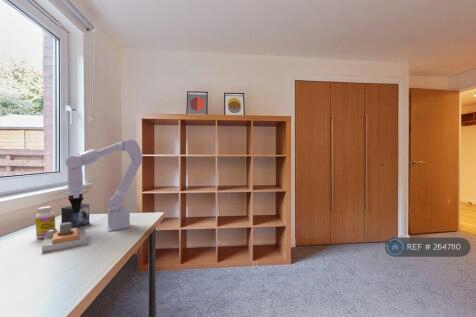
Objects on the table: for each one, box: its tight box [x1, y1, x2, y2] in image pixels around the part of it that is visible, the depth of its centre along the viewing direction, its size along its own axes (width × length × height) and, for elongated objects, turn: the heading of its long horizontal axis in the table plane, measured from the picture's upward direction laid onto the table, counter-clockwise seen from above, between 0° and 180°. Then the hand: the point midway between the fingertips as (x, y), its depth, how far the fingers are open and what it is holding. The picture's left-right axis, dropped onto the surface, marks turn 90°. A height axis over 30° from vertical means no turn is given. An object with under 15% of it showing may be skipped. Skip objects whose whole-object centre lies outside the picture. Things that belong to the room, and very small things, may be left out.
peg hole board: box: [41, 228, 88, 254], centre depth 96 cm, size 14×14×5 cm
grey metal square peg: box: [59, 222, 71, 236], centre depth 96 cm, size 4×4×8 cm
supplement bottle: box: [34, 205, 57, 239], centre depth 104 cm, size 7×7×13 cm
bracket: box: [52, 227, 78, 244], centre depth 99 cm, size 8×18×2 cm, turn 36°
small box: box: [60, 203, 90, 229], centre depth 119 cm, size 11×6×10 cm, turn 162°
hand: (76, 211), depth 109 cm, fingers open, 7 cm apart
